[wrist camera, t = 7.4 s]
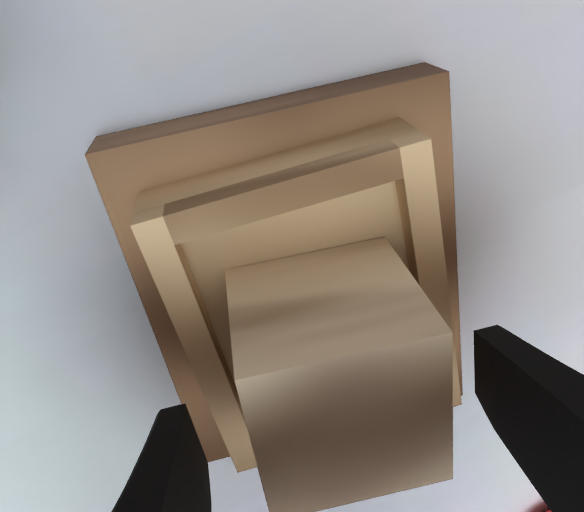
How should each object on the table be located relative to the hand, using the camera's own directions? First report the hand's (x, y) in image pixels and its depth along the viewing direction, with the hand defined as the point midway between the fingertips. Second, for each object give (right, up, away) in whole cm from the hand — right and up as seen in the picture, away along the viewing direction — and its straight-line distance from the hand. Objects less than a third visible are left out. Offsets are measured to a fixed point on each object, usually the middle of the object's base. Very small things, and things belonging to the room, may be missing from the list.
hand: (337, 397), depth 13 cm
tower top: (-1, +2, +4) cm, 5 cm away
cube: (0, +2, +3) cm, 3 cm away
